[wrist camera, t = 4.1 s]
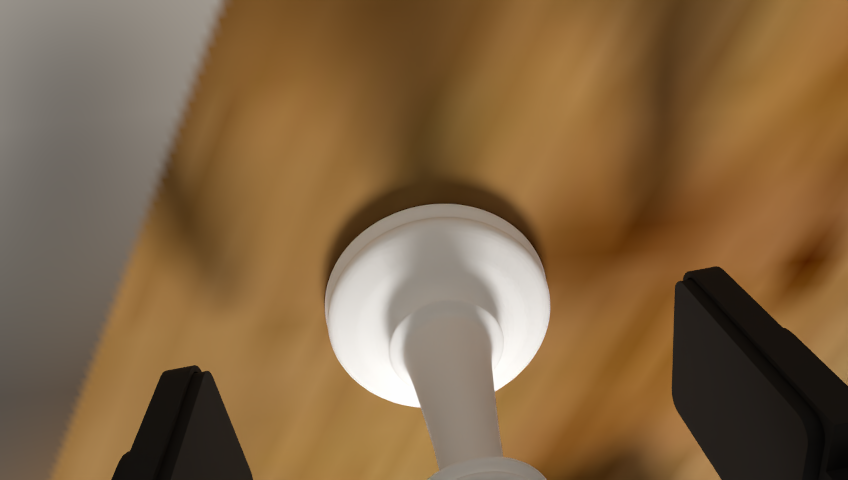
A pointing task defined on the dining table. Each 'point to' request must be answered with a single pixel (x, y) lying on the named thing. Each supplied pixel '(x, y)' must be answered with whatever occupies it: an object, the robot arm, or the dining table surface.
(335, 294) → the chess piece
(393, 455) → the dining table surface
